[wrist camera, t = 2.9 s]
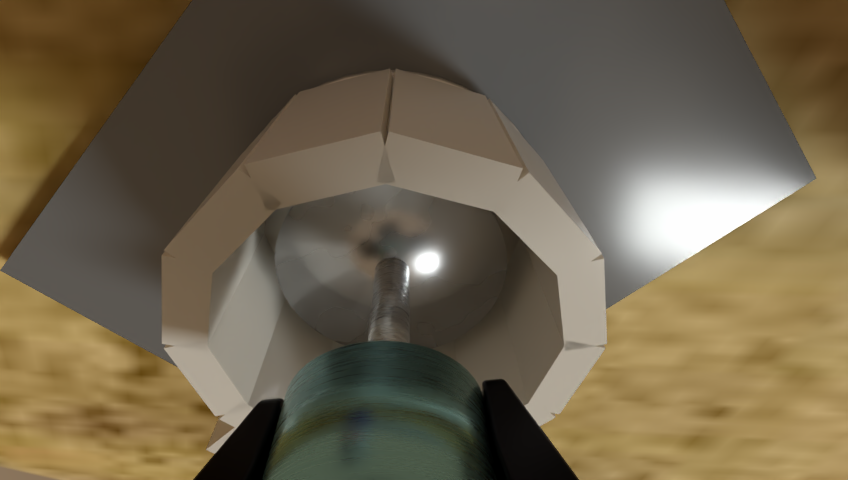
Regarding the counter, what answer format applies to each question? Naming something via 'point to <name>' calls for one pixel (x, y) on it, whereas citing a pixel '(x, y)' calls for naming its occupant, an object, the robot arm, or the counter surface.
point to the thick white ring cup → (364, 168)
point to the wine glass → (386, 337)
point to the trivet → (454, 61)
